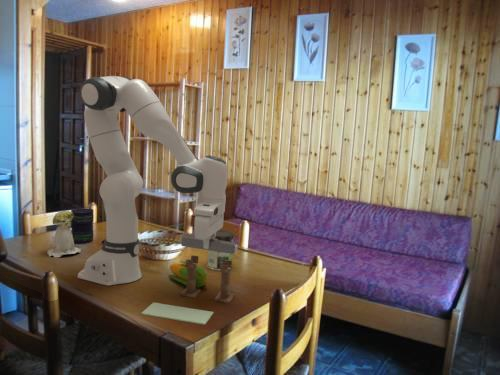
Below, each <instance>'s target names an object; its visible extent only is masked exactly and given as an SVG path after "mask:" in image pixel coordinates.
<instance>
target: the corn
mask: <svg viewBox="0 0 500 375" xmlns="http://www.w3.org/2000/svg"><path fill="white" fill-rule="evenodd" d="M179 262H180V263H172V264H170V266H169V270H170V271H171V273H172V274H173V275H172V274H168V276H169V277H171V278H172V279H173V280H174V281H176V282H178V283H181V285H184V286H186V287H187V267H186V261H184V260H183V261H182V260H180V261H179ZM175 276H176V277H175ZM208 280H209V278H208V276H207V273H206V271H205V269H204V268H202V267H200V266H198V265H197V267H196V288H201V287H204V286H206V284H207V283H208Z"/></svg>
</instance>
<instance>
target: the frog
mask: <svg viewBox="0 0 500 375" xmlns="http://www.w3.org/2000/svg"><path fill="white" fill-rule="evenodd" d="M73 217H74V214H73V212H71V210H70V211H69V210H61V211H59V212H57V213H55V215H54V216H53V217H52V225H56V226H57V228H56V229H55V233H54V236H53V239H52V244H53V245H54V246H55V247H54V248H49V247H48V250H47V255H48V257H50V256H53V258H55V257H58V258H60V257H62V256H64V255H72V254H73V255H75V254H76V253H82V251H81V250H82V248H78V247H75V244H74V241H73V236H72V232H71V230H72V228H71V227H72V223H71V220H72V219H73Z"/></svg>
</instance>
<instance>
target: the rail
mask: <svg viewBox="0 0 500 375" xmlns="http://www.w3.org/2000/svg"><path fill="white" fill-rule="evenodd" d="M179 243H180V245H181V247H186V248H191V249H198V250H204V251H208V250H211V251H217V252H223V253H230V254H232V255H234V254H237V253H238V249H239V245H238V244H237V242H235V241H233V242H227V241H221V240H214V239H209V243H210V247H209V248H208V249H204V248H203V244H204V243H203V240H199V239H196V238H195V235H186V234H185V235H184V236H183V235H182V236H180V240H179Z"/></svg>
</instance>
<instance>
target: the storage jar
mask: <svg viewBox="0 0 500 375" xmlns="http://www.w3.org/2000/svg"><path fill="white" fill-rule="evenodd" d="M70 212H73V214H74V217H73V219H72V220H71V232H72V236H73V241H74V245H87V244H86V243H89V244H91V243H90V242H92V241H93V242H94V229H93V228H94V209H92V208H87V207H86V208H85V207H83V208H79V207H78V208H72V209H71V210H70ZM93 242H92V243H93Z"/></svg>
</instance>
